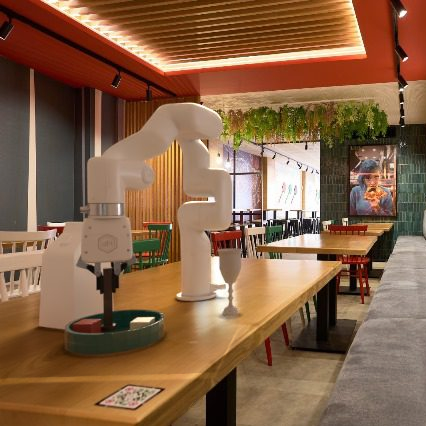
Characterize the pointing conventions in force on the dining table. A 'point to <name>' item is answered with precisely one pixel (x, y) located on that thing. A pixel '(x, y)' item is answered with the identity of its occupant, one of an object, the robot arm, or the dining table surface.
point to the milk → (67, 282)
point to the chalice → (230, 274)
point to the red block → (87, 326)
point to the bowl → (115, 333)
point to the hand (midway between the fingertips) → (107, 292)
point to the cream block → (141, 322)
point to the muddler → (108, 302)
